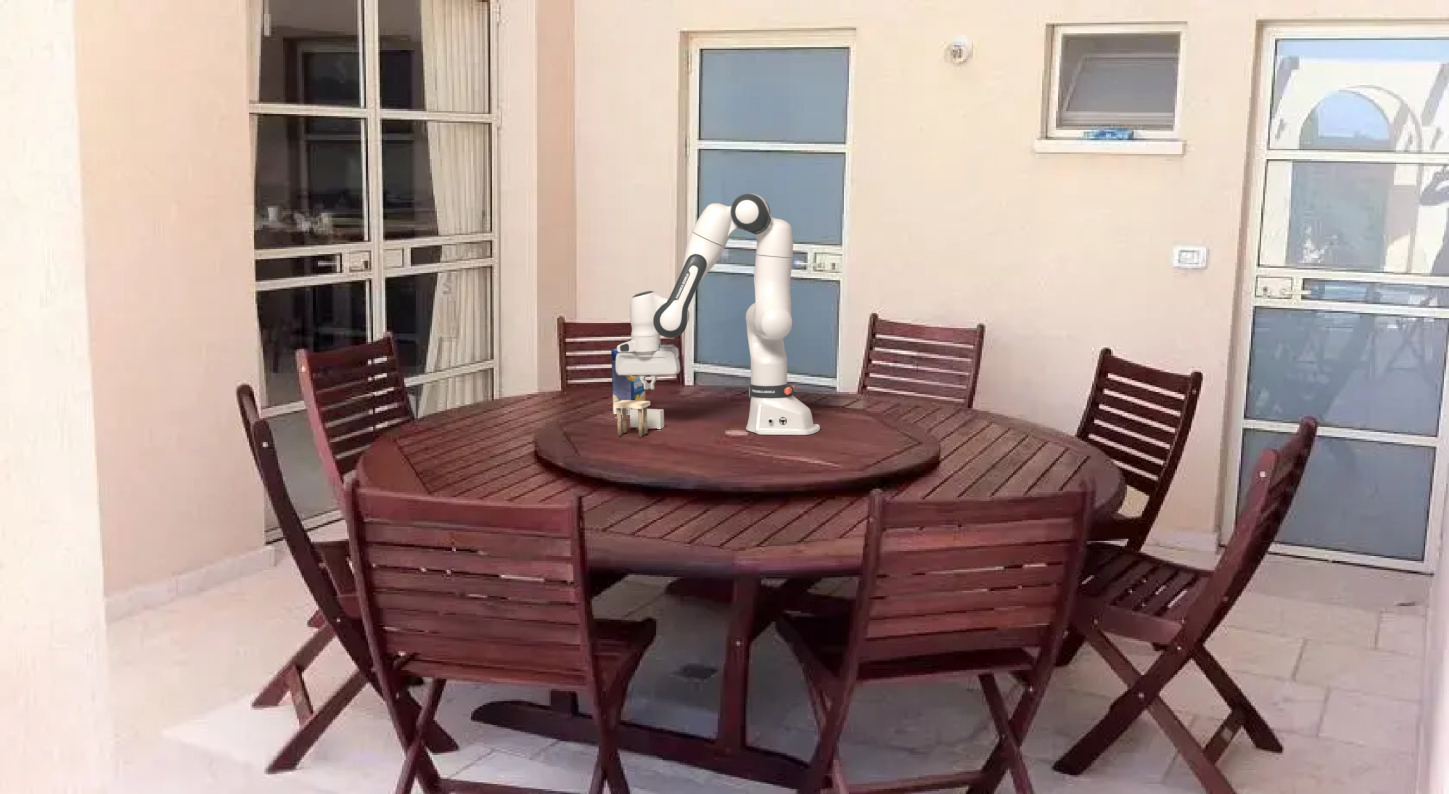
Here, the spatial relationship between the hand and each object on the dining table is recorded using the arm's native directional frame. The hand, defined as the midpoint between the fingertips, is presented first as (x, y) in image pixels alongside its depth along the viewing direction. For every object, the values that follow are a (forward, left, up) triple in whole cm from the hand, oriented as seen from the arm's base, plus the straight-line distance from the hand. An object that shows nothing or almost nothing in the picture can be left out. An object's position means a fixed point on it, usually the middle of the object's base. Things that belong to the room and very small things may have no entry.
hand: (649, 389), depth 415 cm
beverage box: (+16, -22, -13) cm, 30 cm away
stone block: (+1, 0, -12) cm, 12 cm away
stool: (+1, +12, -12) cm, 17 cm away
